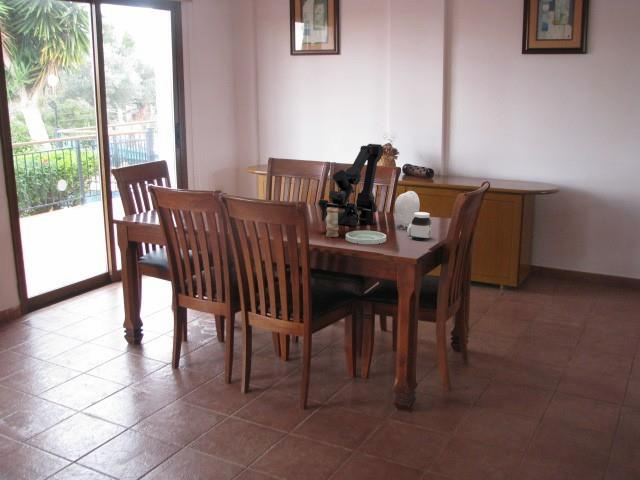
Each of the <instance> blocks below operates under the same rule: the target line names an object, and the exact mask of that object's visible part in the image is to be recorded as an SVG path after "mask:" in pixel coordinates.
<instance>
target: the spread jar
mask: <svg viewBox="0 0 640 480" xmlns="http://www.w3.org/2000/svg"><path fill="white" fill-rule="evenodd" d="M413 213H414V212H413ZM408 225H409V224H408ZM406 228H407V229H406V232H407V234H408V235H410V236H411V238H412V240H413V239H414V240H415V239H419V240H418V241H425V240H424V239H428V238H429V239H430V237H431V235H432V220H431V218H430V213H429V212H425V211H419V212H416V213H414V218H413V220H412V223H411V224H410V225H409V226H408V227H406ZM429 239H428V240H429Z"/></svg>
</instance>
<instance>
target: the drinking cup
mask: <svg viewBox="0 0 640 480" xmlns="http://www.w3.org/2000/svg"><path fill="white" fill-rule="evenodd" d="M343 213H344V211H339V212H338V225H343V226H344V225H345V226H351V227H357V225H358V224H359V220H367V219H362V218H359V213H358V214H357V215H354V216H351V217H350V218H348V219H347V220H345V221H344V222H343V223H342V224H340V220H341V217H342V215H343Z"/></svg>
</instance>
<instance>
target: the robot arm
mask: <svg viewBox="0 0 640 480" xmlns="http://www.w3.org/2000/svg"><path fill="white" fill-rule="evenodd" d="M359 149H360V151H359V152H358V153H357V156H356V158H355V159H354V161H353V163H352V165H351V166H350V167H348V168H347V169H346V170H344V169H340V170H339V171H337V172H335V173H334V174H333V175H332V180H333V182H334V183H335V185H336V187H337V188H338V189H339V190H338V191H337V190H330V191H329V195H328V199H331V202H332V203H330V202H329V200H328V199H323V198H320V199H319V200H318V202H317V205H318V207H319V208H320V210H321V221H322V222H324V221H325V220H326V219H327V208H328V207H337V208H338V209H339V210H343V212H344V213H343V215H342V217H341V220H340V224H339V225H343V224H342V223H343V222H344V221H345V220H347V219H348V218H350V217H351V216H354V215H357V214H358V216H359V218H362V219H367V220H359V221H358V224H359V225H370V226H371V225H374V213H377V211H378V206H377V204H376V202H375V196H374V193H373V190H374V185H375V184H374V183H375V179H376V178H375V177H376V171H377V165H378V163H379V161H380V160H381V159H382V158H383V157H382V156H383V154H384V146H383V145H382V144H378V143H368V144H367V145H361V146H360V147H359ZM365 164H366V167H365ZM364 167H365V168H366V169H365V173H364V179H363V184H362V185H363V186H362V189H361V191H360V192H358V193H357V198H356V200H355V203H354V202H350V197H351V194H352V193H353V194H354V193H355V189H354V186H353V185H355V186H357V185H359V183H360V181H361V178H362V174H361V173H362V170H363V168H364ZM359 211H360V212H359Z"/></svg>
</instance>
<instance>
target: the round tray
mask: <svg viewBox="0 0 640 480" xmlns="http://www.w3.org/2000/svg"><path fill="white" fill-rule="evenodd" d="M345 241H347V242H349V243H353V244H357V243H358V244H359V245H378V244H379V243H380V244H384V243H386V242H387V234H385V233H383V232H379V231H377V230H376V231H374V230H353V231H348V232H346V233H345Z"/></svg>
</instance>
